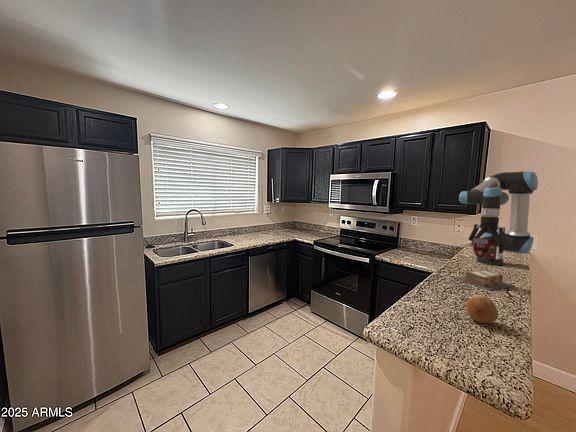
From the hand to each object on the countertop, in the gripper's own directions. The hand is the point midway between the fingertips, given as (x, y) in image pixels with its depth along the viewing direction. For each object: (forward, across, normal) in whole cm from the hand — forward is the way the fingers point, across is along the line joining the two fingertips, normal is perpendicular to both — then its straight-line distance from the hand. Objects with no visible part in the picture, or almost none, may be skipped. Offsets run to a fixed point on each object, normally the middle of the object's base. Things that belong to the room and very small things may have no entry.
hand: (485, 256), depth 132 cm
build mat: (+16, -1, +2) cm, 16 cm away
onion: (+16, +27, -45) cm, 55 cm away
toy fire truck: (+1, 0, 0) cm, 1 cm away
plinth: (+16, 0, 0) cm, 16 cm away
